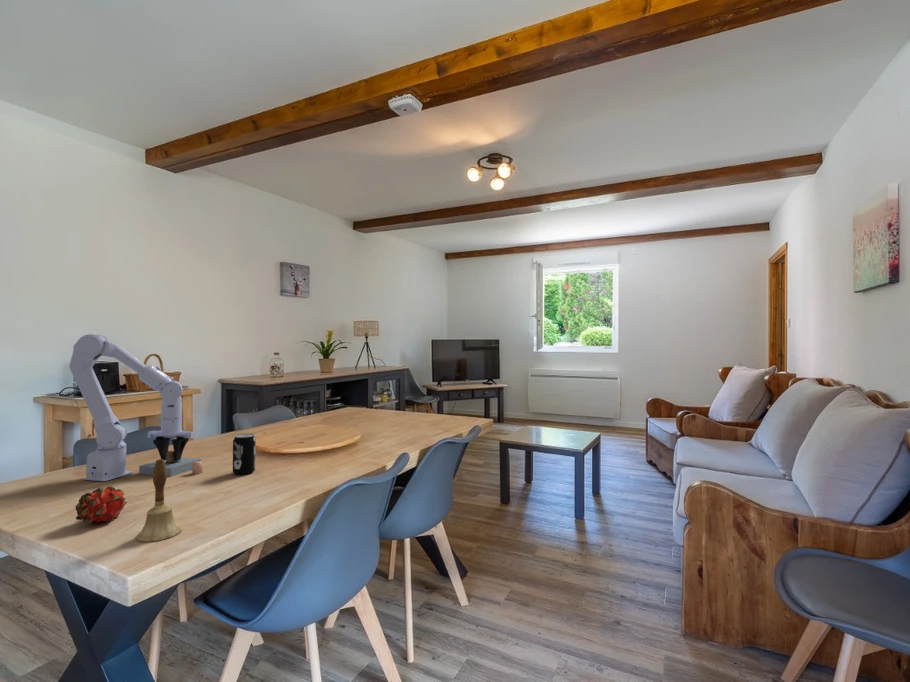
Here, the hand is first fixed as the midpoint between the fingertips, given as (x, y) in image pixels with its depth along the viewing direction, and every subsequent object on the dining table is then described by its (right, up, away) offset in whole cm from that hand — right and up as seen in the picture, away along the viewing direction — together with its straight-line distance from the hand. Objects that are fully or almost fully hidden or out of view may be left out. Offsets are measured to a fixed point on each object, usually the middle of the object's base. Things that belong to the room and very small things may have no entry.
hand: (171, 460), depth 147 cm
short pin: (+11, -3, -3) cm, 12 cm away
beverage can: (+25, -4, -3) cm, 25 cm away
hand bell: (+29, -3, -50) cm, 57 cm away
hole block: (0, -3, 0) cm, 3 cm away
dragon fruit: (+11, -3, -42) cm, 44 cm away
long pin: (0, -3, 0) cm, 3 cm away
